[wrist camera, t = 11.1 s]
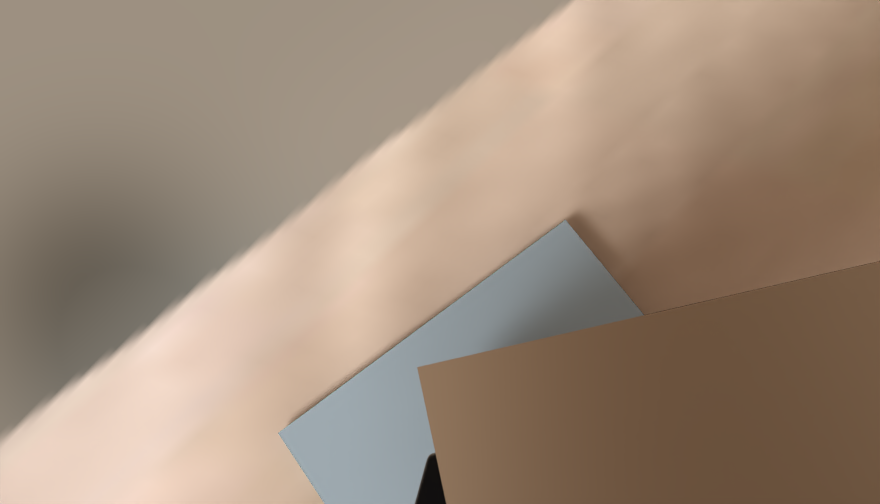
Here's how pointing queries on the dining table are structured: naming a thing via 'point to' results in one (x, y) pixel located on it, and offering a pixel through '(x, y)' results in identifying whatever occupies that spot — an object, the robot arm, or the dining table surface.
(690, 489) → the wooden block
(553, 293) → the slate-blue rubber mat
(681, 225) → the dining table surface
